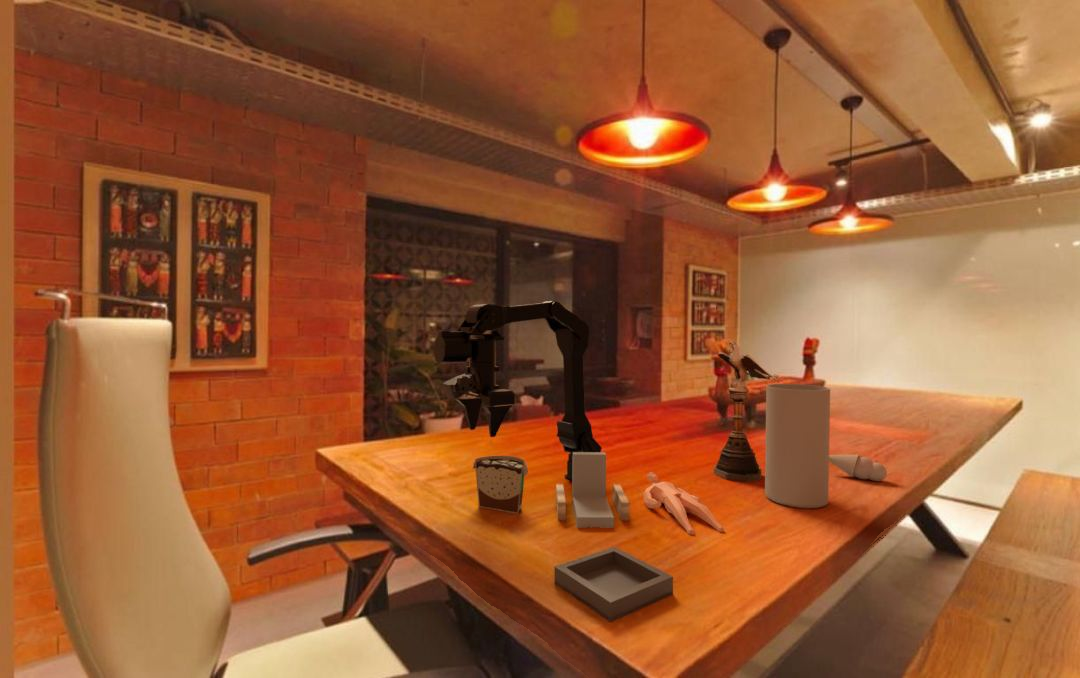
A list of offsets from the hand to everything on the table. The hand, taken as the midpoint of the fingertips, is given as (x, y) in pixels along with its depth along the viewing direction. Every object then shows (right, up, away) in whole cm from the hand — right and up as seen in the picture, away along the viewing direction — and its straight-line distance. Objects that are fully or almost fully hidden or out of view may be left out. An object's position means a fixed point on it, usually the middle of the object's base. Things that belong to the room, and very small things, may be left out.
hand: (482, 433), depth 111 cm
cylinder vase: (+69, -15, +1) cm, 71 cm away
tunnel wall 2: (+29, -15, -5) cm, 33 cm away
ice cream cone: (+92, -15, +19) cm, 95 cm away
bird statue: (+66, -15, +22) cm, 71 cm away
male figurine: (+41, -16, -5) cm, 44 cm away
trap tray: (+23, -16, -37) cm, 47 cm away
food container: (+5, -15, -3) cm, 16 cm away
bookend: (+23, -15, -8) cm, 29 cm away
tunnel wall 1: (+17, -15, -5) cm, 23 cm away
